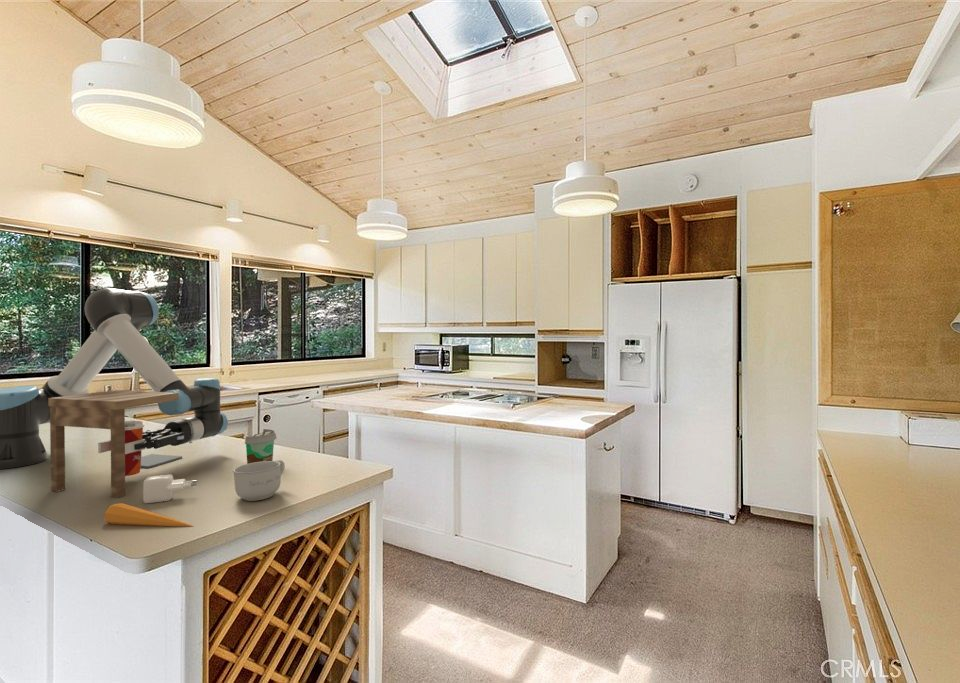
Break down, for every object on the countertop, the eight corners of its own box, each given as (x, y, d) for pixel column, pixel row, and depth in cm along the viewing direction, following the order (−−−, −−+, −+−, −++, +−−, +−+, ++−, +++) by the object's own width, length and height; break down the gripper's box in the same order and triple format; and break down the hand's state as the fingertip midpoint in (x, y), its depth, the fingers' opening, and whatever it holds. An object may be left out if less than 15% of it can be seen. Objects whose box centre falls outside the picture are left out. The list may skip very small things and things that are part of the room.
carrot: (103, 528, 103) (97, 512, 101) (120, 512, 107) (115, 497, 105) (188, 542, 101) (184, 526, 99) (203, 526, 105) (199, 510, 103)
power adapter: (198, 493, 123) (198, 470, 123) (196, 499, 119) (196, 475, 119) (146, 499, 118) (146, 475, 118) (142, 505, 114) (141, 481, 114)
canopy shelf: (49, 491, 124) (48, 398, 123) (117, 471, 141) (116, 390, 141) (117, 498, 119) (116, 401, 118) (178, 477, 136) (178, 392, 136)
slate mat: (117, 465, 147) (117, 463, 147) (152, 455, 159) (152, 453, 159) (148, 468, 145) (148, 466, 145) (182, 458, 156) (182, 456, 156)
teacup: (250, 508, 113) (250, 474, 113) (224, 499, 119) (224, 467, 118) (300, 491, 125) (300, 460, 125) (274, 484, 130) (274, 455, 130)
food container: (265, 470, 143) (265, 437, 143) (244, 470, 143) (244, 437, 143) (283, 459, 155) (283, 428, 155) (264, 459, 155) (264, 428, 155)
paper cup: (147, 473, 132) (147, 422, 132) (113, 479, 127) (112, 426, 127) (140, 467, 138) (140, 419, 137) (107, 473, 132) (107, 422, 132)
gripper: (209, 445, 147) (140, 465, 125) (157, 441, 152) (81, 460, 130) (209, 421, 147) (139, 436, 125) (157, 417, 152) (81, 432, 130)
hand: (110, 448), depth 127 cm, fingers closed on paper cup, 7 cm apart
